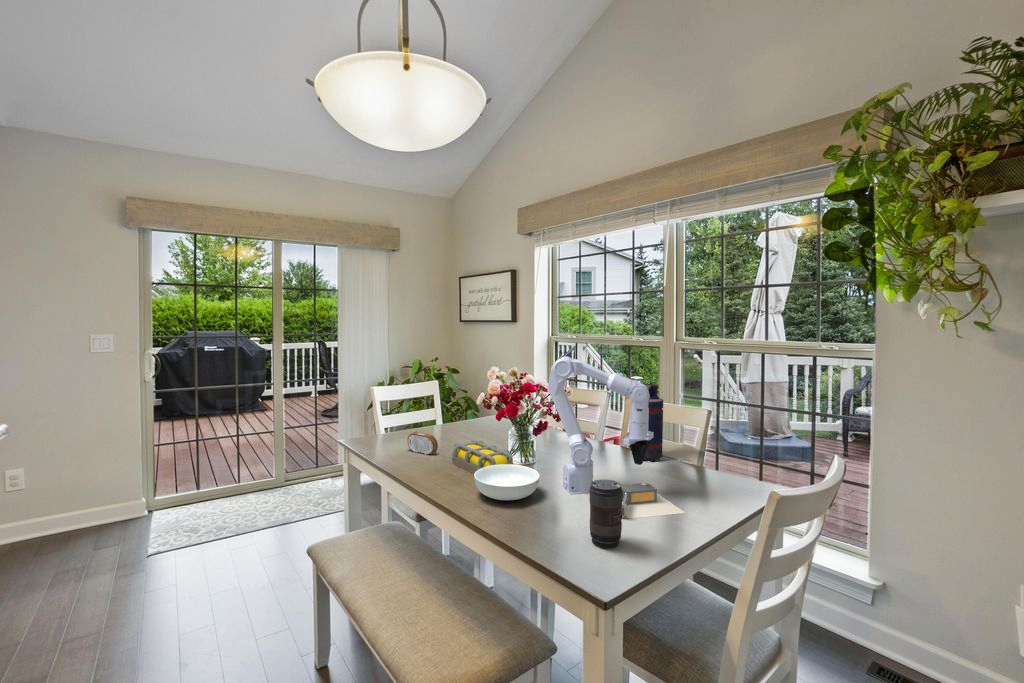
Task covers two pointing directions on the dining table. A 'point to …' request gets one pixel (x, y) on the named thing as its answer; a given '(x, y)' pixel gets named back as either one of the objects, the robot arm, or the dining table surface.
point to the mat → (652, 509)
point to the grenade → (654, 424)
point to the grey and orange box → (639, 493)
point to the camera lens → (605, 513)
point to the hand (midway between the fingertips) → (638, 463)
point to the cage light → (478, 456)
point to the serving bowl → (506, 481)
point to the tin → (422, 442)
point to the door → (624, 505)
